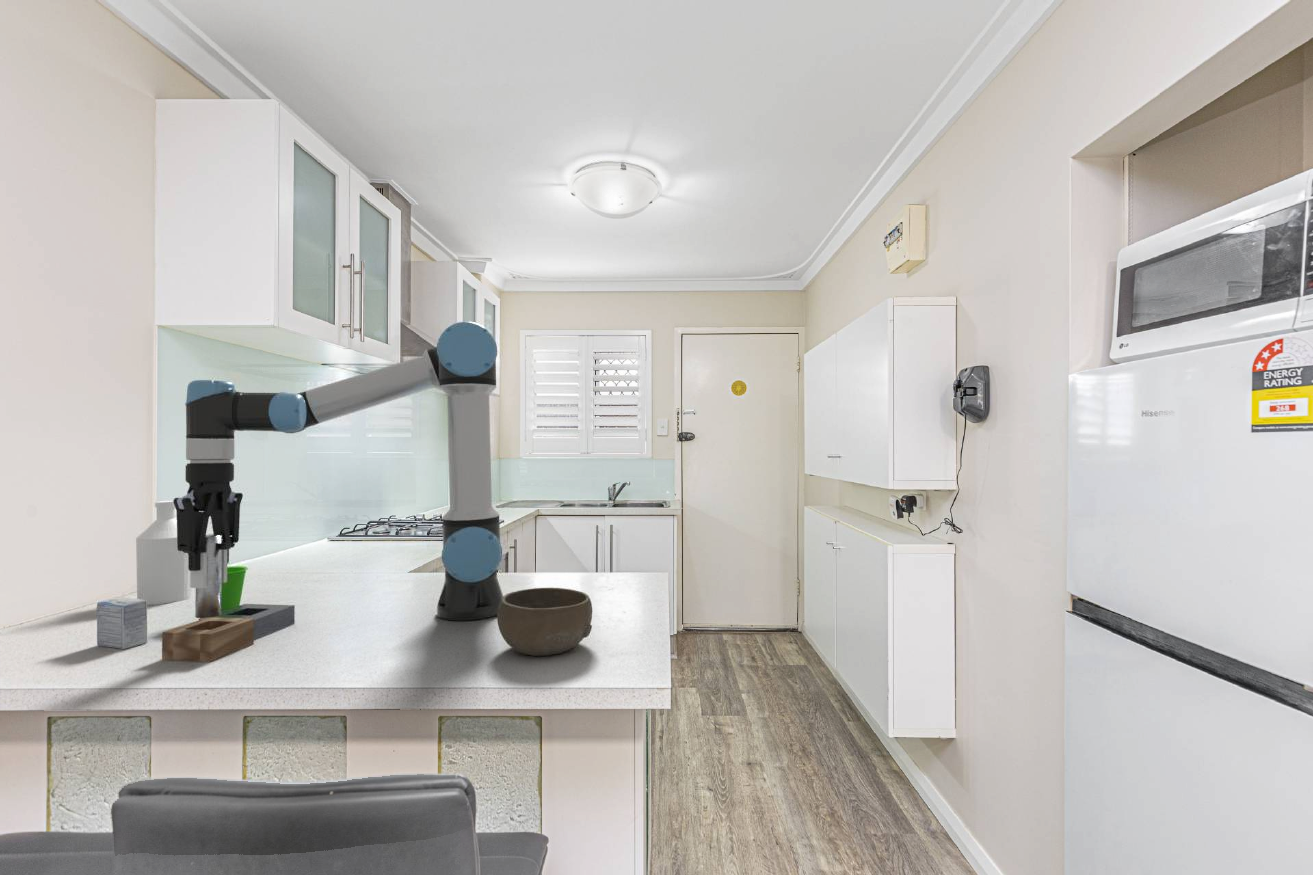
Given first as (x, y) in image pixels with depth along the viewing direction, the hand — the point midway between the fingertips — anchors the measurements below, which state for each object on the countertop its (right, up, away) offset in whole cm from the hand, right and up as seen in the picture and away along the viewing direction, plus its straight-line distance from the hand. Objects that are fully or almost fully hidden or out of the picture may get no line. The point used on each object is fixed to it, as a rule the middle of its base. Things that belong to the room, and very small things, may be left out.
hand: (209, 584), depth 118 cm
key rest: (0, -13, 0) cm, 13 cm away
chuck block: (-1, -13, +13) cm, 18 cm away
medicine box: (-20, -13, +4) cm, 25 cm away
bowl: (+64, -13, +1) cm, 65 cm away
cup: (-13, -13, +23) cm, 29 cm away
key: (0, -6, 0) cm, 6 cm away
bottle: (-41, -14, +41) cm, 60 cm away
